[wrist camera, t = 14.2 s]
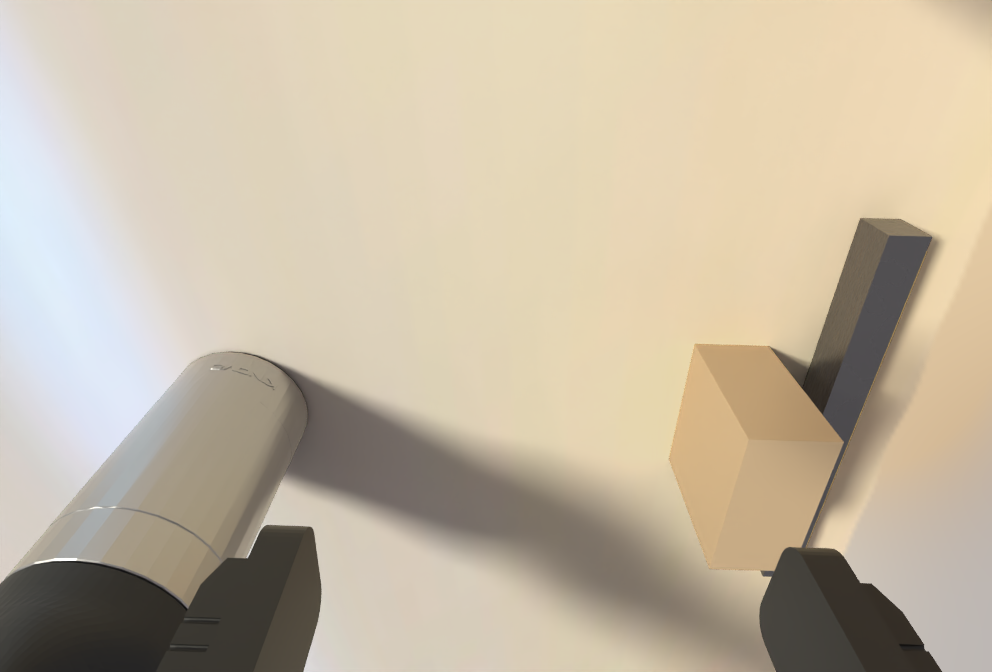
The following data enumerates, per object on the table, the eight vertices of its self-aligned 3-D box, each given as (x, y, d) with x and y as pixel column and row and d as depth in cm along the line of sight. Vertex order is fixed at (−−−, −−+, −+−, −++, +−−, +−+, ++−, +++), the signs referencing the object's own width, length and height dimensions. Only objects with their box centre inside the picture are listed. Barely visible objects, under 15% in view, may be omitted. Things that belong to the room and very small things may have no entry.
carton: (738, 460, 45) (796, 571, 36) (668, 458, 45) (709, 569, 36) (773, 345, 40) (849, 442, 31) (694, 343, 40) (748, 439, 31)
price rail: (781, 546, 49) (797, 577, 47) (749, 545, 49) (763, 576, 46) (905, 219, 35) (937, 236, 33) (860, 218, 35) (889, 235, 33)
